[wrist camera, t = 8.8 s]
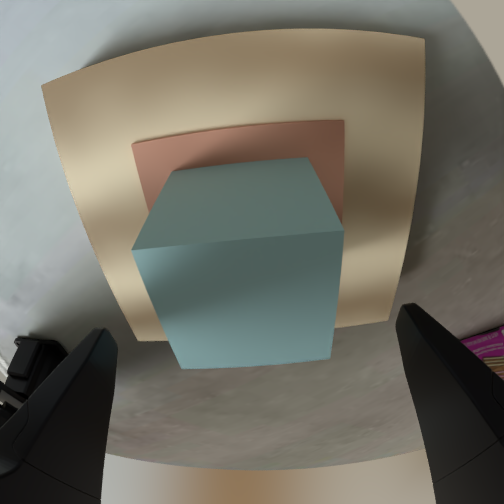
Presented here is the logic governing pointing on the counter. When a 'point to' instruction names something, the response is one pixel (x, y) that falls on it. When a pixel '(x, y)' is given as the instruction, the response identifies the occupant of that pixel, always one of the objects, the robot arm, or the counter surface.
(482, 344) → the candy bar box
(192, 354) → the teal block
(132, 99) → the stack base
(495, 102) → the counter surface
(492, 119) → the counter surface
